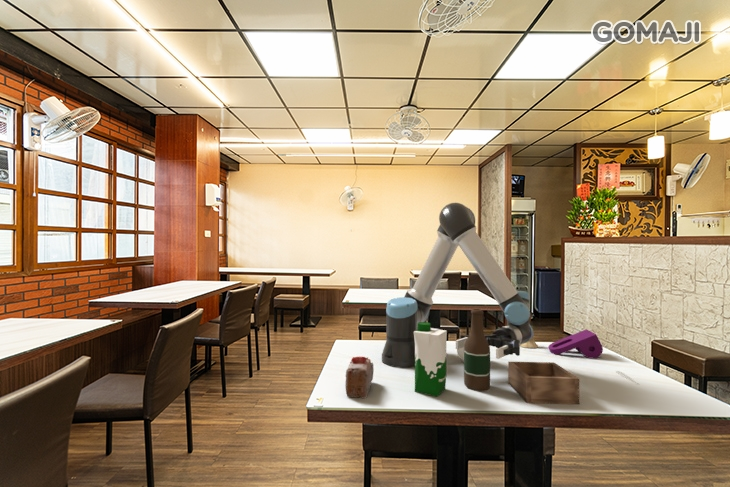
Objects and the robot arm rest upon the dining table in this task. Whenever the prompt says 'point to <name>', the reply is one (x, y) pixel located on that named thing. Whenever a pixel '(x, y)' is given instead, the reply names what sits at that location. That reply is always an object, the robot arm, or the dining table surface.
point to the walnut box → (543, 382)
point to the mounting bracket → (579, 344)
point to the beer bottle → (477, 355)
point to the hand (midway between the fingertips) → (476, 349)
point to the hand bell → (530, 341)
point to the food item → (359, 377)
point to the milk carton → (430, 359)
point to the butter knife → (626, 377)
